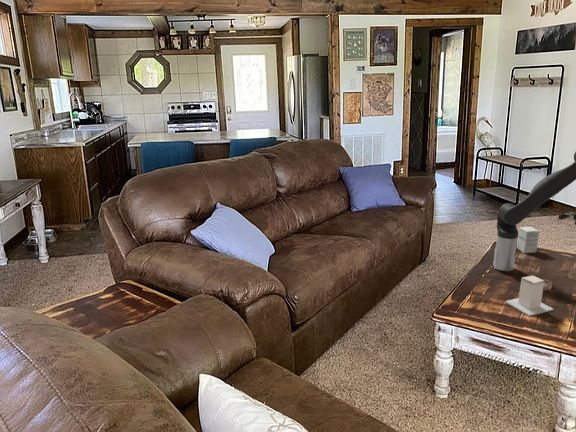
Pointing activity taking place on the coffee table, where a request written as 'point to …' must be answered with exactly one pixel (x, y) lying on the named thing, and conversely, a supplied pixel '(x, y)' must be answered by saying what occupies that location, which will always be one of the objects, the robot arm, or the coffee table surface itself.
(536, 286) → the cream box
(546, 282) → the maple letter cube
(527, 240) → the supplement box
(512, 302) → the grey mat
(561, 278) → the coffee table surface
